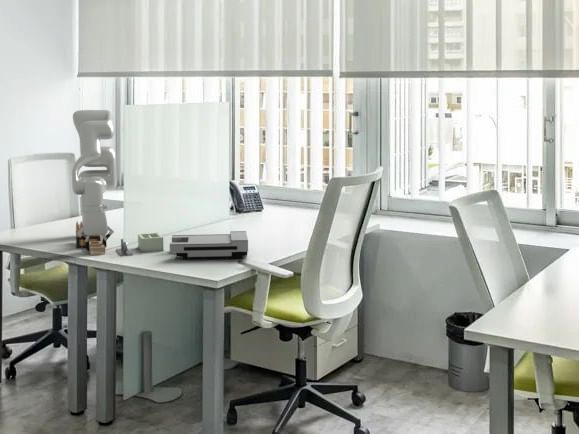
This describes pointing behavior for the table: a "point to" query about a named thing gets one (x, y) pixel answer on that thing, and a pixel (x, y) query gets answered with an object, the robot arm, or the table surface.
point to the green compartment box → (150, 242)
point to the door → (96, 248)
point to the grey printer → (210, 246)
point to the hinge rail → (124, 249)
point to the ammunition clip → (79, 241)
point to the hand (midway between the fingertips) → (96, 249)
